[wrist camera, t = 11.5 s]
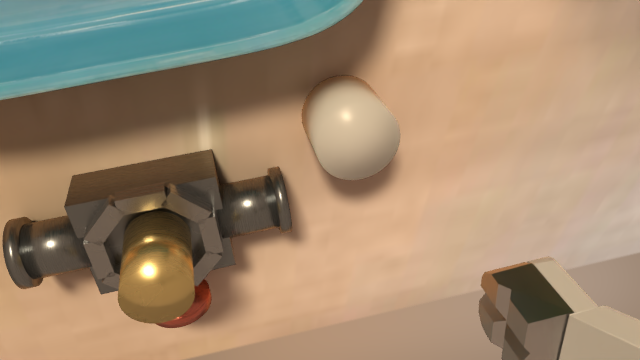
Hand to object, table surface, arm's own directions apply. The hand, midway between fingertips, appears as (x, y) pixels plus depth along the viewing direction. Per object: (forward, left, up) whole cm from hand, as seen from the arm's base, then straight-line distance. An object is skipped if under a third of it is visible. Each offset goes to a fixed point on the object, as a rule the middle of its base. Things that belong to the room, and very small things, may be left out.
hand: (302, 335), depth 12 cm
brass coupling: (+7, +15, -25) cm, 30 cm away
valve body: (+7, +17, -29) cm, 34 cm away
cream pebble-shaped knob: (-8, +10, -29) cm, 32 cm away
